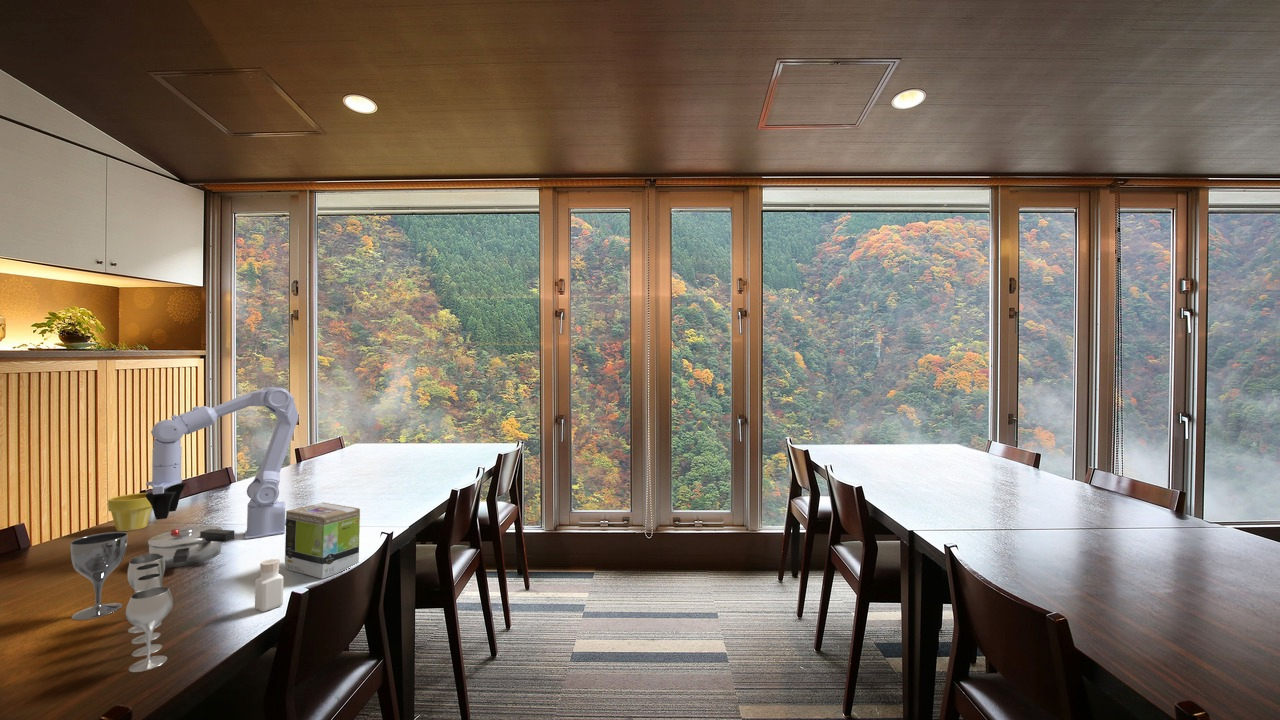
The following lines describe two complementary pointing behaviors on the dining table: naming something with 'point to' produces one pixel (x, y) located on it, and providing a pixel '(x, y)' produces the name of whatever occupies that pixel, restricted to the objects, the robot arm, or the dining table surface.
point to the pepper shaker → (269, 586)
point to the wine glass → (98, 566)
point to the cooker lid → (191, 536)
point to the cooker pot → (187, 553)
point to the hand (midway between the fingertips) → (166, 515)
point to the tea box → (322, 539)
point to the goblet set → (147, 607)
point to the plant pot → (130, 511)
